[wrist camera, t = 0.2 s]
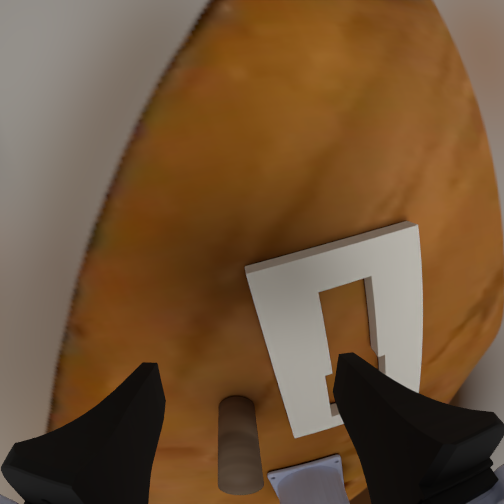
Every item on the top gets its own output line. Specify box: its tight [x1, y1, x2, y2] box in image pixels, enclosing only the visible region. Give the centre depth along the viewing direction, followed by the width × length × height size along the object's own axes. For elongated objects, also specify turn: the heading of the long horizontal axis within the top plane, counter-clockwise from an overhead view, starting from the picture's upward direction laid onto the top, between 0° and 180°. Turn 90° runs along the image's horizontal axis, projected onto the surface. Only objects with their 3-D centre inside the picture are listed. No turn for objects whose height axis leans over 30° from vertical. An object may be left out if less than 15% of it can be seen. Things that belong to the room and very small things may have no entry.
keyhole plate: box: [245, 221, 423, 438], centre depth 22 cm, size 16×12×2 cm
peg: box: [218, 396, 264, 495], centre depth 20 cm, size 3×3×8 cm
